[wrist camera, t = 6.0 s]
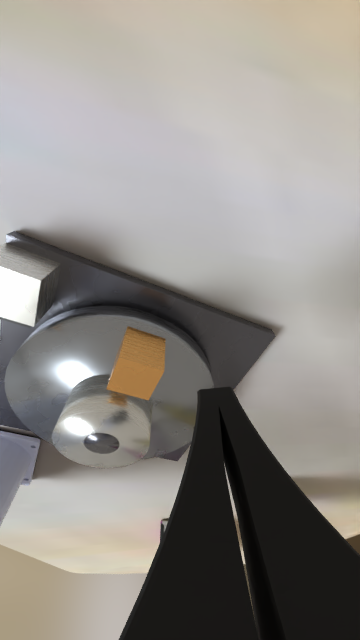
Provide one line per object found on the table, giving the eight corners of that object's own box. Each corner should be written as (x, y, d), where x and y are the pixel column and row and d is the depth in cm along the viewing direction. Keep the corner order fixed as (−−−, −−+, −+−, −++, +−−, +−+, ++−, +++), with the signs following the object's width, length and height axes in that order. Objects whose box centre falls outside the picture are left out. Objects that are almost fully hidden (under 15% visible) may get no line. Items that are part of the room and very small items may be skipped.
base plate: (177, 453, 27) (177, 488, 24) (0, 415, 23) (-26, 452, 20) (271, 329, 18) (290, 360, 15) (14, 231, 14) (-27, 247, 11)
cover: (140, 434, 20) (135, 474, 17) (64, 420, 19) (47, 460, 16) (163, 386, 17) (162, 425, 14) (76, 365, 16) (57, 403, 13)
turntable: (169, 454, 25) (169, 507, 21) (11, 420, 21) (-25, 477, 17) (247, 347, 18) (269, 398, 14) (29, 270, 14) (-25, 309, 10)
